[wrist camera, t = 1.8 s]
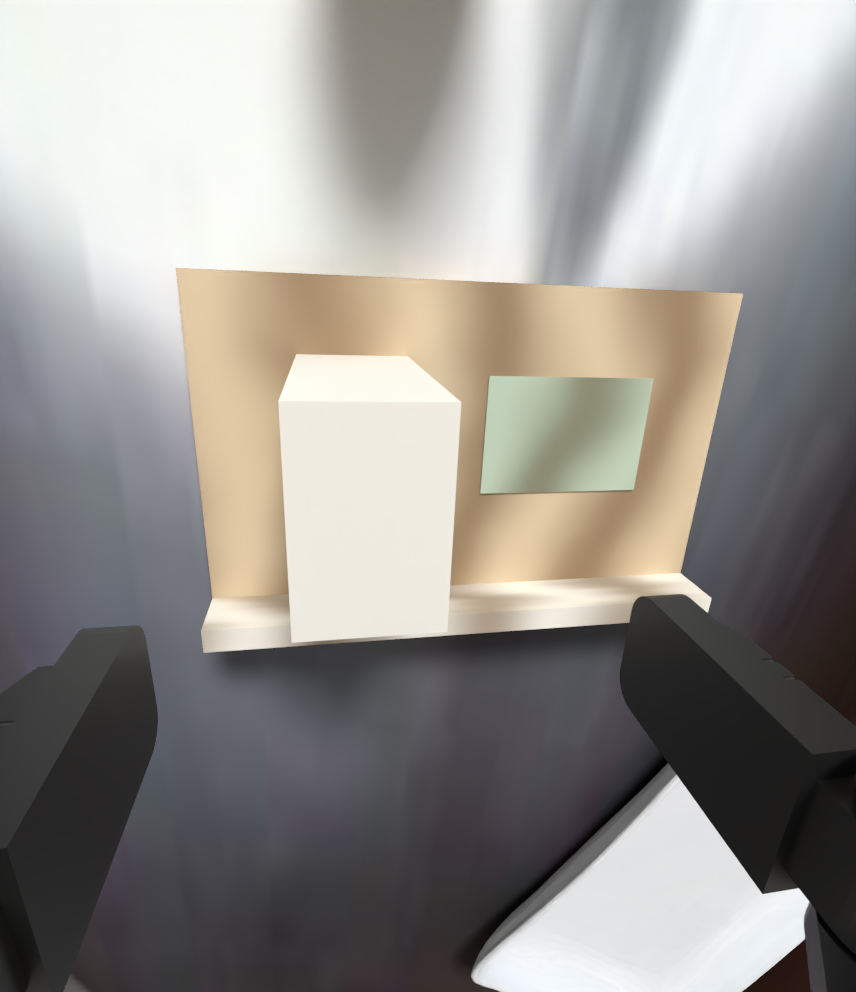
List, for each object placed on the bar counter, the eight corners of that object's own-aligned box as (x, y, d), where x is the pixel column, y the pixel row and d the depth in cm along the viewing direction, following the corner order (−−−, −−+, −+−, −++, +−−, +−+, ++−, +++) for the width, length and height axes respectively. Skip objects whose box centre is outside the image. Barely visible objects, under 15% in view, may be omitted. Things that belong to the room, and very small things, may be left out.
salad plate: (856, 822, 40) (901, 868, 37) (649, 999, 44) (674, 1055, 40) (684, 696, 32) (723, 740, 29) (450, 922, 36) (463, 984, 33)
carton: (408, 509, 24) (454, 631, 15) (302, 512, 23) (291, 642, 15) (413, 356, 21) (470, 402, 13) (296, 354, 21) (278, 401, 12)
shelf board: (219, 608, 25) (204, 654, 22) (182, 268, 20) (156, 266, 17) (664, 582, 29) (706, 619, 26) (726, 293, 24) (788, 294, 21)
